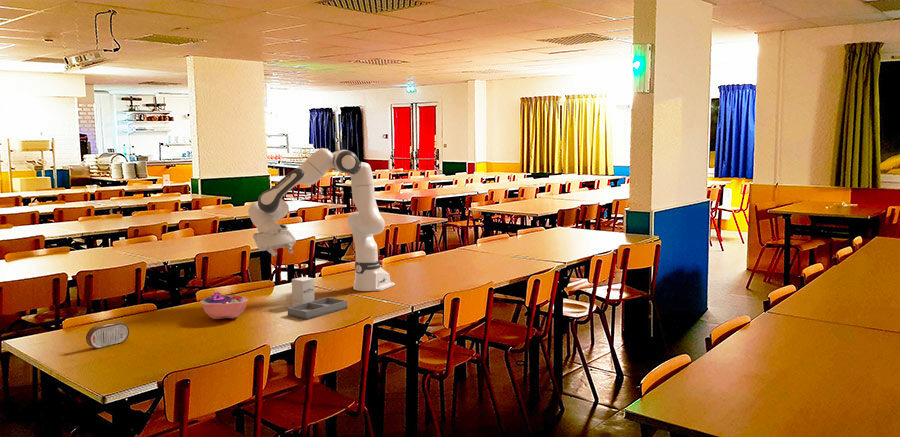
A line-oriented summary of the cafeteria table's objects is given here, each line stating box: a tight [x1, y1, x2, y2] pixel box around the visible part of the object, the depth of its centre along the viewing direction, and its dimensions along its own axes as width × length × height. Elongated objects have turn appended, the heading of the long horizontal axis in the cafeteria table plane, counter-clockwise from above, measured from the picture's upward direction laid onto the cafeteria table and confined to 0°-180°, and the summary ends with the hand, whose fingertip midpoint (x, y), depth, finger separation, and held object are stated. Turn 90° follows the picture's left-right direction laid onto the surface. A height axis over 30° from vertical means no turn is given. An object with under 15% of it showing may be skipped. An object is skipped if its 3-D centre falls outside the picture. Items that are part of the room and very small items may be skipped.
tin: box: [85, 321, 130, 349], centre depth 251 cm, size 15×3×8 cm, turn 141°
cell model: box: [199, 291, 249, 320], centre depth 287 cm, size 17×20×11 cm
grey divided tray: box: [287, 296, 348, 321], centre depth 297 cm, size 24×12×4 cm, turn 143°
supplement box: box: [291, 276, 316, 307], centre depth 307 cm, size 7×7×13 cm
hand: (283, 254), depth 313 cm, fingers open, 8 cm apart
